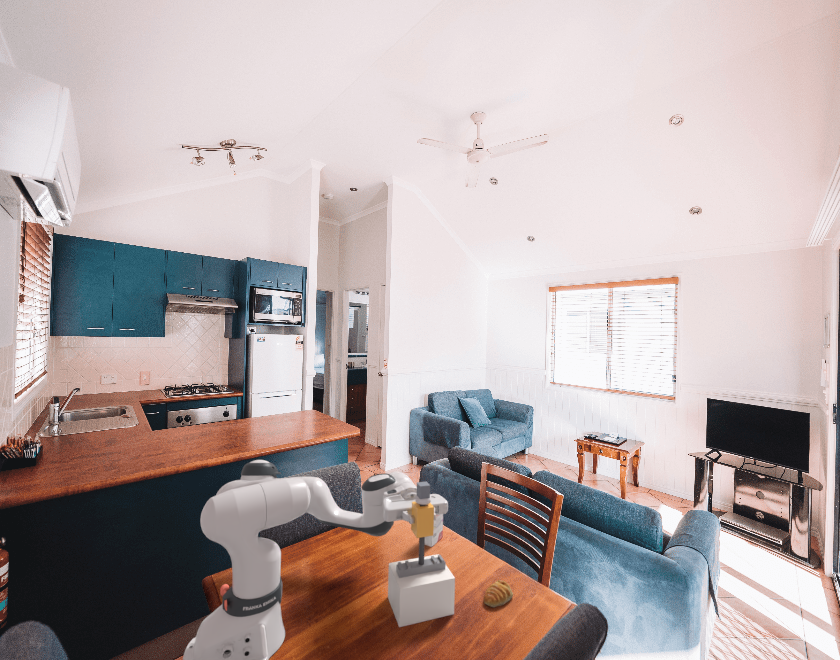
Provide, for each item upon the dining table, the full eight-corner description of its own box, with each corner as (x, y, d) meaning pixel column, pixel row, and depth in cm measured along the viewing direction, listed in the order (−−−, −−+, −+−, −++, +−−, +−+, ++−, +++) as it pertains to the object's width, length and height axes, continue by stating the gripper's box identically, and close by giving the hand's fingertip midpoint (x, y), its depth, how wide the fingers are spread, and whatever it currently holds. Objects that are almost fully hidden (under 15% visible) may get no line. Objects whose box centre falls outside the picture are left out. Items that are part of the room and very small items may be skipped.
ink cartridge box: (432, 533, 148) (433, 495, 148) (443, 537, 145) (444, 499, 145) (420, 543, 141) (421, 503, 141) (431, 547, 138) (432, 507, 138)
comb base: (399, 627, 100) (400, 579, 100) (387, 597, 111) (389, 554, 111) (454, 614, 105) (455, 568, 105) (437, 586, 116) (439, 545, 117)
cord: (416, 576, 105) (418, 487, 106) (411, 567, 110) (413, 481, 110) (430, 573, 107) (433, 486, 107) (425, 564, 111) (427, 480, 111)
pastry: (497, 613, 106) (497, 600, 106) (477, 601, 111) (477, 588, 111) (514, 598, 113) (514, 585, 113) (495, 587, 117) (495, 574, 117)
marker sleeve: (416, 538, 105) (417, 509, 105) (411, 529, 110) (411, 501, 110) (433, 535, 107) (434, 507, 107) (427, 526, 112) (427, 499, 112)
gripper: (438, 505, 124) (456, 525, 111) (377, 513, 117) (389, 536, 104) (439, 485, 124) (456, 504, 111) (378, 493, 117) (389, 513, 104)
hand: (423, 519), depth 108 cm, fingers closed on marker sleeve, 5 cm apart
